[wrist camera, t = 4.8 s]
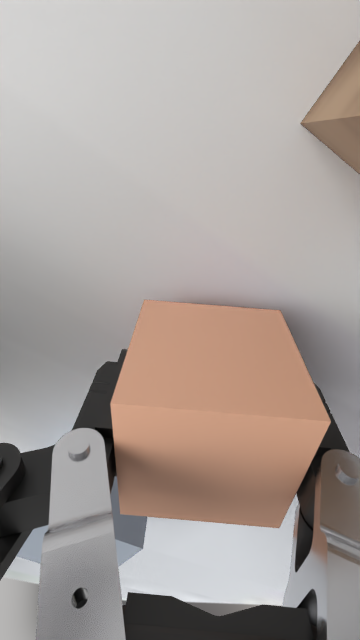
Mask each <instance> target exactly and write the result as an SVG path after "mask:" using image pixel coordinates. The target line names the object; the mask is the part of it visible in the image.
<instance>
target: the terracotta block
mask: <svg viewBox="0 0 360 640" xmlns="http://www.w3.org/2000/svg"><path fill="white" fill-rule="evenodd" d="M110 404H111V415H112V427H113V438H114V449H115V461H116V472H117V483H118V494H119V506H120V514H124V515H135V516H147V517H158V518H169V519H181V520H192V521H203V522H215V523H226V524H238V525H249V526H260V527H272V528H279V527H280V525H281V523H282V521H283V519H284V517H285V515H286V513H287V511H288V509H289V507H290V505H291V503H292V501H293V499H294V497H295V495H296V492H297V490H298V488H299V486H300V484H301V482H302V480H303V478H304V476H305V474H306V472H307V470H308V468H309V466H310V464H311V462H312V460H313V458H314V456H315V454H316V452H317V449H318V447H319V445H320V443H321V441H322V439H323V437H324V435H325V433H326V431H327V429H328V427H329V425H330V423H331V420H330V418H329V416H328V414H327V411H326V409H325V407H324V405H323V403H322V401H321V398H320V396H319V394H318V392H317V390H316V387H315V385H314V383H313V381H312V379H311V376H310V374H309V372H308V370H307V368H306V366H305V363H304V361H303V359H302V357H301V355H300V352H299V350H298V348H297V346H296V344H295V341H294V339H293V337H292V335H291V333H290V331H289V328H288V326H287V324H286V322H285V320H284V317H283V315H282V313H281V311H280V310H269V309H256V308H244V307H231V306H218V305H205V304H193V303H180V302H167V301H155V300H144V302H143V305H142V308H141V311H140V314H139V317H138V320H137V323H136V326H135V329H134V332H133V336H132V339H131V342H130V345H129V348H128V351H127V354H126V357H125V360H124V363H123V366H122V369H121V372H120V375H119V378H118V382H117V385H116V388H115V391H114V394H113V397H112V400H111V403H110Z"/></svg>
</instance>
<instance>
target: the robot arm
mask: <svg viewBox="0 0 360 640" xmlns="http://www.w3.org/2000/svg"><path fill="white" fill-rule="evenodd" d="M127 351H128V350H127V349H122V351H121V354H120V357H119V359H118V362H106V363H105V364H104V365H103V366H102V367H101V368H100V369H99V370H97V373H96V375H95V378H94V380H93V383H92V385H91V387H90V389H89V393H88V394H87V396H86V399H85V401H84V403H83V406H82V408H81V410H80V413H79V415H78V418H77V420H76V422H75V425H74V427H73V429H72V430H71V431H70V432H68V433H66V434H65V435H63V436H62V437H61V438H60V439H59V440H58V442H57V443H56V444H55V445H53V446H50V447H47V448H43V449H39V450H34V451H29V452H24V453H20V451H19V450H18V448H17V447H15V446H14V445H12V444H8V443H0V580H1V578H2V577H3V575H4V574H5V572H6V571H7V569H8V568H9V566H10V565H11V563H12V562H13V560H14V558H15V557H16V555H17V554H18V552H19V551H20V549H21V548H22V546H23V544H24V543H25V541H26V540H27V538H28V537H29V535H30V534H31V532H32V531H33V529H36V528H39V527H43V526H47V525H49V526H48V531H47V532H46V533H45V534H44V538H43V543H42V553H41V568H40V583H39V598H38V615H37V629H36V640H360V458H358V457H357V456H356V455H354V454H352V453H350V452H349V450H348V448H347V446H346V444H345V441H344V439H343V437H342V435H341V433H340V431H339V429H338V427H337V424H336V422H335V420H334V418H333V416H332V414H331V413H330V410H329V407H328V405H327V403H325V399H324V397H323V395H322V393H321V390H320V389H319V388H318V387H317V386H316V385H315V384H314V385H315V387H316V390H317V392H318V394H319V396H320V398H321V401H322V403H323V405H324V407H325V409H326V411H327V414H328V416H329V418H330V420H331V423H330V425H329V427H328V429H327V431H326V433H325V435H324V437H323V439H322V441H321V443H320V445H319V447H318V449H317V452H316V454H315V456H314V458H313V460H312V462H311V464H310V466H309V468H308V470H307V472H306V474H305V476H304V478H303V480H302V482H301V484H300V486H299V488H298V490H297V492H296V493H297V497H298V501H299V503H298V505H297V508H296V512H295V523H294V534H293V545H292V555H291V566H290V575H289V580H288V584H287V588H286V591H285V595H284V600H283V606H271V605H260V606H256V607H253V608H249V609H245V610H242V611H238V612H234V613H231V614H227V615H224V616H214V615H212V614H210V613H207V612H205V611H203V610H201V609H199V608H196V607H194V606H192V605H190V604H187V603H185V602H183V601H181V600H179V599H176V598H174V597H172V596H162V595H151V594H141V593H130V592H128V596H127V602H126V605H122V596H121V587H120V578H119V569H118V560H117V551H116V542H115V532H114V523H113V514H112V505H111V496H110V494H111V491H112V487H113V482H114V478H115V476H117V472H116V461H115V449H114V438H113V427H112V415H111V404H110V403H111V400H112V397H113V394H114V391H115V388H116V385H117V382H118V378H119V375H120V372H121V369H122V366H123V363H124V360H125V357H126V354H127Z"/></svg>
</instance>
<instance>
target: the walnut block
mask: <svg viewBox="0 0 360 640" xmlns="http://www.w3.org/2000/svg"><path fill="white" fill-rule="evenodd" d="M300 124H302V125H303V126H304V127H305V128H306V129H307V130H309V131H310V132H311V133H312V134H313V135H314V136H316V137H317V138H318V139H319V140H320V141H321V142H323V143H324V144H325V145H326V146H327V147H328V148H330V149H331V150H332V151H333V152H334V153H335V154H337V155H338V156H339V157H340V158H341V159H342V160H344V161H345V162H346V163H347V164H348V165H349V166H351V167H352V168H353V169H354V170H355V171H356V172H358V173H359V174H360V41H359V42H358V44H357V45H356V47H355V48H354V49H353V51H352V52H351V54H350V55H349V56H348V58H347V59H346V60H345V62H344V63H343V65H342V66H341V67H340V69H339V70H338V72H337V73H336V74H335V76H334V77H333V79H332V80H331V81H330V83H329V84H328V86H327V87H326V88H325V90H324V91H323V93H322V94H321V95H320V97H319V98H318V100H317V101H316V102H315V104H314V105H313V106H312V108H311V109H310V111H309V112H308V113H307V115H306V116H305V118H304V119H303V120H302V122H301V123H300Z"/></svg>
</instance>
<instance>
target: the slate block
mask: <svg viewBox="0 0 360 640" xmlns="http://www.w3.org/2000/svg"><path fill="white" fill-rule="evenodd" d="M110 496H111V505H112V514H113V523H114V532H115V542H116V551H117V560H118V567H119V566H120V565H121V564H123V563H124V562H126V561H127V560H128V559H130V558H131V557H132V556H134V555H135V554H136V553H138V552H139V551H141V550H142V549H143V544H144V537H145V530H146V523H147V516H135V515H124V514H120V506H119V494H118V483H117V476H115V478H114V482H113V487H112V491H111V494H110ZM48 526H49V525H47V526H43V527H39V528H36V529H33V531H32V532H31V534H30V535H29V537H28V538H27V540H26V541H25V543H24V544H23V546H22V548H21V549H20V551H19V552H18V554H17V555H16V556H17V557H21V558H24V559H27V560H30V561H34V562H37V563H40V564H41V553H42V543H43V538H44V534H45V533H46V532H47V531H48Z"/></svg>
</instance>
